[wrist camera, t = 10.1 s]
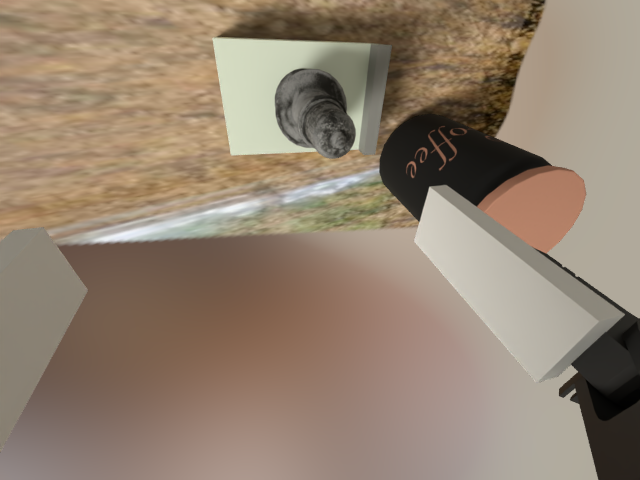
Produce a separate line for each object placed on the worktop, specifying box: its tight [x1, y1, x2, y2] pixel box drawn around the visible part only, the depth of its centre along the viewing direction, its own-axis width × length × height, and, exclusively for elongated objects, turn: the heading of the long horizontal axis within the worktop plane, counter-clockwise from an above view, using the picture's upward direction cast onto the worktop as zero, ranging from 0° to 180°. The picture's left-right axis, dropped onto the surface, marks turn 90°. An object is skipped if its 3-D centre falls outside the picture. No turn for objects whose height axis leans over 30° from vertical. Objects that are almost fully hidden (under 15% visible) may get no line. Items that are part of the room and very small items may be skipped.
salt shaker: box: [275, 68, 356, 158], centre depth 20 cm, size 6×6×12 cm
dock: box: [213, 37, 392, 155], centre depth 26 cm, size 14×9×7 cm, turn 88°
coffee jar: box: [380, 114, 586, 253], centre depth 30 cm, size 11×11×18 cm
